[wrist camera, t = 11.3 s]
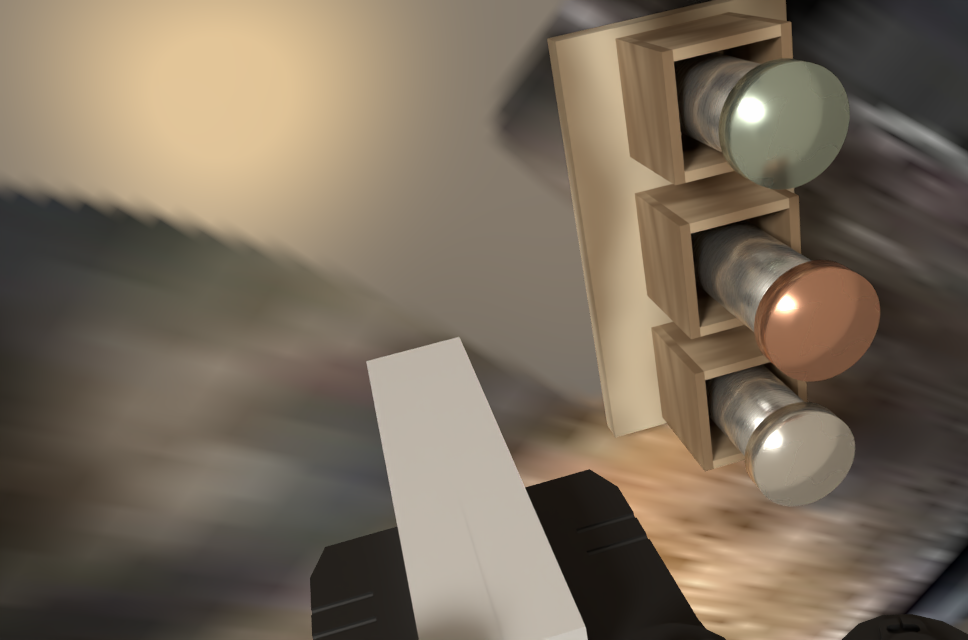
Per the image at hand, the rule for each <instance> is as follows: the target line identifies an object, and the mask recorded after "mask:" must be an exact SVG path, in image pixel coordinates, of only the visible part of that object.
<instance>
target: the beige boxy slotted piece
mask: <svg viewBox="0 0 968 640" xmlns="http://www.w3.org/2000/svg"><path fill="white" fill-rule="evenodd" d="M547 41H548V47H549V54H550V60H551V66H552V73H553V79H554V86H555V92H556V99H557V105H558V111H559V118H560V124H561V131H562V137H563V144H564V150H565V156H566V163H567V169H568V176H569V182H570V189H571V195H572V201H573V208H574V214H575V220H576V227H577V233H578V240H579V246H580V253H581V259H582V266H583V272H584V279H585V285H586V291H587V298H588V304H589V310H590V317H591V324H592V329H593V336H594V343H595V349H596V355H597V362H598V369H599V375H600V381H601V388H602V394H603V401H604V407H605V414H606V420H607V425H608V427H609V428H610V430H611V432H612V433H613V435H614V436H615V438H616V437H619V436H623V435H626V434H630V433H633V432H637V431H640V430H644V429H648V428H651V427H655V426H658V425H662V424H665V423H667V424H668V425H669V426H670V428H671V429H672V430H673V431H674V433H675V434H676V435H677V436H678V438H679V439H680V440H681V442H682V443H683V444H684V445H685V447H686V448H687V449H688V450H689V452H690V453H691V454H692V455H693V457H694V458H695V459H696V461H697V462H698V463H699V464H700V466H701V467H702V468H703V469H704V471H708V470H711V469H715V468H718V467H722V466H725V465H729V464H732V463H736V462H739V461H742V460H745V456H744V455H743V454H742V453H741V452H740V451H739V450H738V448H737V447H736V446H735V445H734V444H733V443H732V442H731V441H730V439H729V438H728V437H727V436H726V435H725V434H724V433H723V432H722V430H721V429H720V428H719V427H718V426H717V425H716V424H715V423H714V421H713V420H712V419H711V418H710V417H709V415H708V405H707V395H706V385H705V380H707V379H711V378H714V377H718V376H722V375H725V374H729V373H732V372H736V371H740V370H743V369H747V368H750V367H754V366H758V365H761V364H763V365H764V366H765V367H766V368H767V369H768V370H769V371H770V372H772V373H773V374H774V375H775V376H776V377H777V378H778V379H779V380H781V381H782V382H783V383H784V384H785V385H786V386H787V387H788V388H790V389H791V390H792V391H793V392H794V393H795V394H796V395H797V396H798V397H800V398H801V399H802V400H803V401H804V402H807V381H800V380H796V379H793V378H791V377H789V376H787V375H786V374H784V373H783V372H782V371H780V370H779V369H778V368H777V367H776V366H775V365H774V364H772V363H771V362H770V361H769V360H768V359H767V358H766V357H765V356H764V355H763V354H762V352H761V351H760V349H759V347H758V345H757V342H756V339H755V333H754V332H753V331H752V330H751V329H749V328H748V327H747V326H746V325H745V324H743V323H742V322H741V321H740V320H739V319H737V318H736V317H735V316H734V315H733V314H731V313H730V312H729V311H728V310H727V309H726V308H724V307H723V306H722V305H721V304H720V303H718V302H717V301H716V300H715V299H714V298H712V297H711V296H710V295H709V294H708V293H706V292H705V291H704V290H703V289H702V288H700V287H699V286H698V285H697V284H696V283H695V273H694V263H693V252H692V242H691V233H695V232H699V231H703V230H707V229H710V228H714V227H718V226H722V225H726V224H730V223H734V222H737V221H741V220H746V221H748V222H749V223H751V224H752V225H754V226H756V227H757V228H759V229H761V230H762V231H764V232H766V233H767V234H769V235H770V236H772V237H774V238H775V239H777V240H779V241H780V242H782V243H784V244H785V245H787V246H789V247H790V248H792V249H793V250H795V251H797V252H798V253H800V254H801V240H800V216H799V196H798V195H796V194H794V188H790V189H782V190H777V189H770V188H766V187H763V186H760V185H758V184H756V183H754V182H752V181H750V180H748V179H746V178H744V177H743V176H741V175H740V174H738V173H737V172H736V171H735V170H733V169H732V167H731V166H730V165H729V164H728V162H727V161H726V159H725V157H724V155H723V153H722V152H720V151H718V150H716V149H714V148H712V147H710V146H707V145H705V144H703V143H701V142H699V141H697V140H695V139H693V138H691V137H689V136H687V135H685V134H683V133H681V130H680V120H679V110H678V100H677V89H676V79H675V69H674V61H678V60H682V59H687V58H691V57H695V56H699V55H703V54H708V53H712V52H716V53H720V54H724V55H728V56H732V57H736V58H740V59H743V60H747V61H751V62H755V63H759V64H762V63H764V62H767V61H770V60H774V59H780V58H790V59H793V52H792V29H791V22H789V21H787V18H786V0H713V1H708V2H704V3H700V4H695V5H691V6H687V7H682V8H678V9H674V10H669V11H665V12H661V13H656V14H652V15H648V16H643V17H639V18H635V19H630V20H626V21H622V22H617V23H613V24H609V25H604V26H600V27H596V28H591V29H587V30H583V31H578V32H574V33H570V34H565V35H561V36H557V37H552V38H548V39H547Z"/></svg>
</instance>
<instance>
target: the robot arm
mask: <svg viewBox="0 0 968 640" xmlns="http://www.w3.org/2000/svg"><path fill="white" fill-rule="evenodd" d="M366 362H367V367H368V372H369V378H370V383H371V388H372V393H373V399H374V404H375V409H376V415H377V420H378V425H379V430H380V436H381V441H382V446H383V452H384V457H385V462H386V468H387V473H388V478H389V483H390V489H391V494H392V499H393V505H394V510H395V515H396V521H397V526H398V527H394V528H391V529H387V530H384V531H380V532H377V533H373V534H370V535H366V536H363V537H359V538H356V539H352V540H348V541H345V542H341V543H338V544H334V545H331V546H327V547H325V549H324V551H323V553H322V555H321V557H320V559H319V561H318V563H317V565H316V567H315V569H314V571H313V573H312V575H311V577H310V589H311V610H312V615H311V617H312V636H313V640H726V639H725V638H724V637H722V636H719V635H717V634H715V633H713V632H711V631H709V630H707V629H706V628H705V627H704V626H703V624H702V623H701V622H700V621H699V620H698V618H697V617H696V615H695V613H694V612H693V610H692V608H691V607H690V605H689V603H688V602H687V600H686V598H685V597H684V595H683V594H682V592H681V590H680V589H679V587H678V585H677V584H676V582H675V580H674V579H673V577H672V575H671V574H670V572H669V570H668V569H667V567H666V565H665V564H664V562H663V561H662V559H661V557H660V556H659V554H658V552H657V551H656V549H655V547H654V546H653V544H652V542H651V541H650V539H648V538H647V535H646V533H645V531H644V529H643V528H642V526H641V524H640V523H639V521H638V519H637V518H635V517H634V513H633V511H632V509H631V508H630V506H629V504H628V503H627V501H626V500H625V498H624V496H623V495H622V493H621V491H620V490H619V488H618V487H617V486H615V485H614V484H612V483H611V482H609V481H607V480H606V479H604V478H603V477H601V476H599V475H598V474H596V473H595V472H593V471H591V470H590V469H589V470H585V471H582V472H578V473H575V474H571V475H568V476H564V477H561V478H557V479H554V480H550V481H547V482H543V483H540V484H536V485H533V486H529V487H526V488H525V487H524V484H523V482H522V480H521V477H520V475H519V473H518V471H517V468H516V466H515V464H514V461H513V459H512V457H511V454H510V452H509V450H508V448H507V445H506V443H505V441H504V438H503V436H502V434H501V432H500V429H499V427H498V425H497V422H496V420H495V418H494V415H493V413H492V411H491V409H490V406H489V404H488V402H487V399H486V397H485V395H484V392H483V390H482V388H481V386H480V383H479V381H478V379H477V376H476V374H475V372H474V370H473V367H472V365H471V363H470V360H469V358H468V356H467V353H466V351H465V349H464V347H463V344H462V342H461V340H460V337H457V338H454V339H450V340H446V341H442V342H438V343H435V344H431V345H427V346H423V347H419V348H416V349H412V350H408V351H404V352H400V353H396V354H393V355H389V356H385V357H381V358H377V359H374V360H370V361H366ZM842 640H968V634H966V633H964V632H962V631H961V630H959V629H957V628H955V627H953V626H951V625H949V624H947V623H945V622H943V621H939V620H935V619H930V618H926V617H922V616H917V615H913V614H907V615H882V616H879V617H876V618H874V619H871V620H868V621H865V622H862V623H860V624H858V625H857V626H856V627H855V628H854V629H852V630H851V631H850V632H849V633H848V634H847V635H846V636H845V637H844V638H843V639H842Z"/></svg>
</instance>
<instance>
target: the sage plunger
mask: <svg viewBox="0 0 968 640" xmlns="http://www.w3.org/2000/svg"><path fill="white" fill-rule="evenodd" d="M674 69H675V79H676V89H677V100H678V110H679V120H680V130H681V133H683V134H685V135H687V136H689V137H691V138H693V139H695V140H697V141H699V142H701V143H703V144H705V145H707V146H710V147H712V148H714V149H716V150H718V151H720V152H722V153H723V155H724V157H725V159H726V161H727V162H728V164H729V165H730V166H731V167H732V169H733V170H735V171H736V172H737V173H738V174H740V175H741V176H743V177H744V178H746V179H748V180H750V181H752V182H754V183H756V184H758V185H760V186H763V187H766V188H770V189H777V190H782V189H790V188H795V187H798V186H801V185H803V184H805V183H808V182H809V181H811V180H813V179H814V178H816V177H817V176H818V175H820V174H821V173H822V172H823V171H824V170H825V169H826V168H827V167H828V166H829V165H830V164H831V163H832V162H833V160H834V159H835V157H836V156H837V154H838V153H839V151H840V149H841V147H842V145H843V143H844V140H845V138H846V134H847V131H848V125H849V114H850V112H849V103H848V98H847V95H846V92H845V90H844V88H843V86H842V84H841V83H840V81H839V80H838V79H837V77H836V76H835V75H834V74H833V73H832V72H830V71H829V70H827V69H826V68H824V67H822V66H820V65H817V64H814V63H810V62H806V61H801V60H797V59H790V58H780V59H774V60H770V61H767V62H764V63H762V64H759V63H755V62H751V61H747V60H743V59H740V58H736V57H732V56H728V55H724V54H720V53H716V52H712V53H708V54H703V55H699V56H695V57H691V58H687V59H682V60H678V61H674Z"/></svg>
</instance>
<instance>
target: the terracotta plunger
mask: <svg viewBox="0 0 968 640" xmlns="http://www.w3.org/2000/svg"><path fill="white" fill-rule="evenodd" d="M691 242H692V252H693V263H694V273H695V283H696V284H697V285H698V286H699V287H700V288H702V289H703V290H704V291H705V292H706V293H708V294H709V295H710V296H711V297H712V298H714V299H715V300H716V301H717V302H718V303H720V304H721V305H722V306H723V307H724V308H726V309H727V310H728V311H729V312H730V313H731V314H733V315H734V316H735V317H736V318H737V319H739V320H740V321H741V322H742V323H743V324H745V325H746V326H747V327H748V328H749V329H751V330H752V331H753V332H754V333H755V339H756V342H757V345H758V347H759V349H760V351H761V352H762V354H763V355H764V356H765V357H766V358H767V359H768V360H769V361H770V362H771V363H772V364H774V365H775V366H776V367H777V368H778V369H779V370H780V371H782V372H783V373H784V374H786V375H787V376H789V377H791V378H793V379H796V380H800V381H809V382H813V381H821V380H825V379H829V378H832V377H834V376H836V375H838V374H840V373H842V372H844V371H845V370H847V369H848V368H850V367H851V366H852V365H854V364H855V363H856V362H857V361H858V360H859V359H860V358H861V357H862V356H863V354H864V353H865V352H866V351H867V349H868V348H869V346H870V344H871V343H872V341H873V339H874V337H875V334H876V332H877V329H878V325H879V320H880V304H879V299H878V296H877V294H876V291H875V290H874V288H873V286H872V285H871V284H870V283H869V282H868V281H867V280H866V279H865V278H864V277H862V276H860V275H859V274H857V273H855V272H854V271H852V270H850V269H848V268H847V267H845V266H843V265H842V264H839V263H837V262H833V261H829V260H814V261H811V260H810V259H808V258H807V257H805V256H803V255H802V254H800V253H798V252H797V251H795V250H793V249H792V248H790V247H789V246H787V245H785V244H784V243H782V242H780V241H779V240H777V239H775V238H774V237H772V236H770V235H769V234H767V233H766V232H764V231H762V230H761V229H759V228H757V227H756V226H754V225H752V224H751V223H749V222H748V221H746V220H741V221H737V222H734V223H730V224H726V225H722V226H718V227H714V228H710V229H707V230H703V231H699V232H695V233H691Z"/></svg>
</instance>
